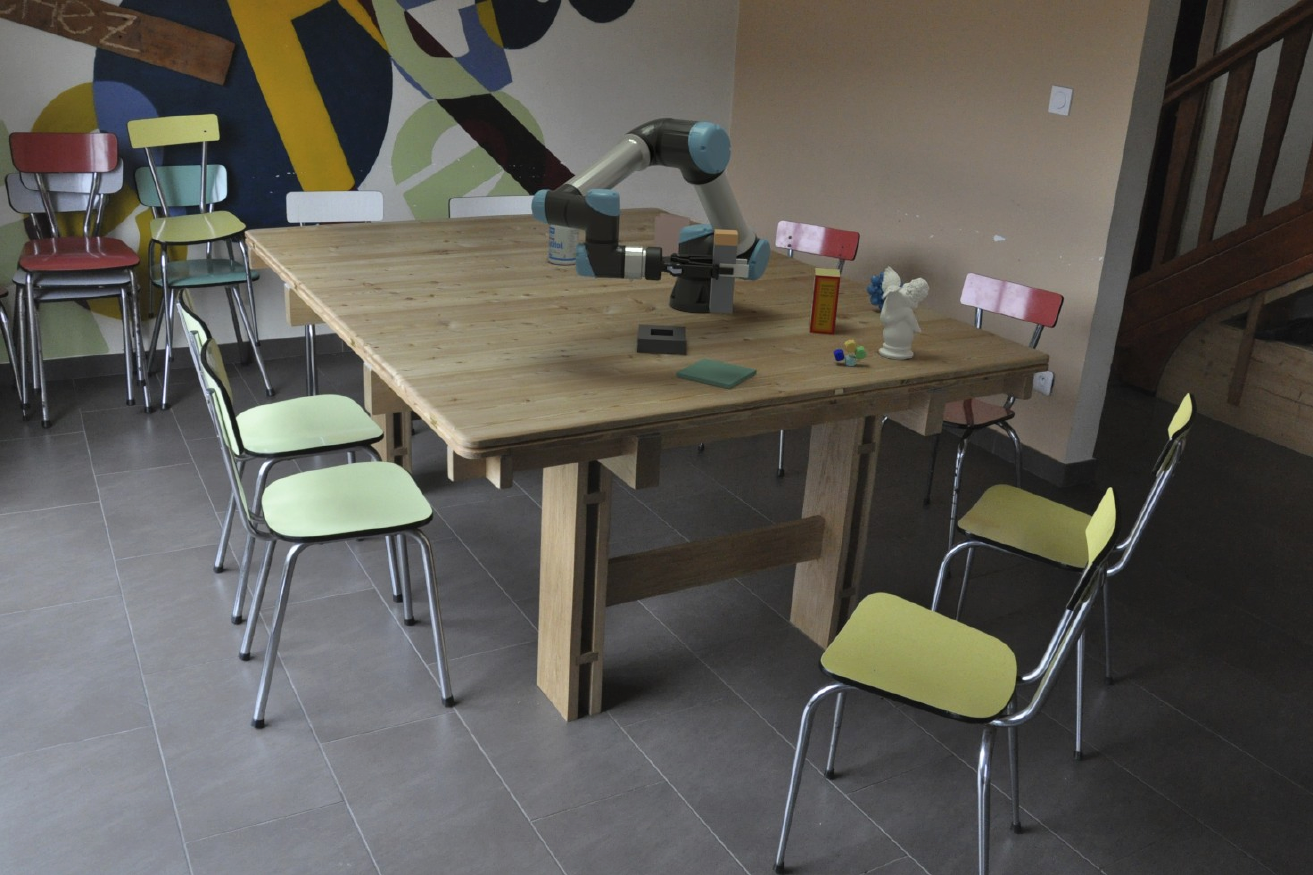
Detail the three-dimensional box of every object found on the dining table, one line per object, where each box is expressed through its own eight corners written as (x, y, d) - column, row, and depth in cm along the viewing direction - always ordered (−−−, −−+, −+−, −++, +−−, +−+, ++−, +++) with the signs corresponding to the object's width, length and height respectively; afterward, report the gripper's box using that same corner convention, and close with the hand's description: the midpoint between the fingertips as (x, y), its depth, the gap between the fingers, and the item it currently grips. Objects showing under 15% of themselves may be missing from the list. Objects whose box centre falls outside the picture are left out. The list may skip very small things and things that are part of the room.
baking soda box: (809, 323, 307) (815, 266, 301) (833, 325, 306) (839, 268, 300) (809, 332, 298) (815, 274, 292) (834, 334, 298) (840, 275, 292)
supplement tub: (543, 263, 359) (543, 217, 354) (557, 257, 368) (558, 213, 362) (569, 267, 356) (570, 221, 350) (583, 261, 364) (584, 216, 358)
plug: (709, 306, 257) (714, 229, 250) (730, 308, 257) (736, 230, 250) (710, 312, 252) (715, 233, 246) (732, 313, 252) (738, 234, 246)
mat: (704, 362, 269) (704, 358, 269) (756, 373, 263) (756, 369, 262) (675, 376, 258) (676, 372, 257) (729, 389, 251) (729, 384, 251)
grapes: (866, 315, 318) (871, 273, 314) (862, 308, 324) (867, 268, 320) (907, 317, 318) (912, 276, 314) (902, 310, 324) (908, 270, 320)
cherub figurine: (923, 357, 282) (937, 272, 274) (898, 367, 274) (911, 279, 265) (882, 345, 290) (894, 262, 281) (856, 354, 281) (868, 269, 273)
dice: (833, 365, 272) (835, 340, 269) (831, 362, 274) (834, 337, 272) (865, 367, 272) (868, 342, 269) (864, 364, 274) (867, 339, 272)
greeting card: (688, 262, 371) (691, 217, 365) (677, 266, 365) (680, 220, 359) (659, 257, 376) (661, 212, 371) (647, 260, 370) (649, 215, 365)
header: (638, 337, 286) (638, 324, 285) (684, 339, 286) (685, 326, 285) (636, 352, 274) (637, 338, 273) (685, 354, 274) (686, 341, 273)
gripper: (644, 270, 260) (743, 275, 261) (642, 289, 244) (748, 294, 244) (645, 238, 258) (746, 243, 258) (644, 255, 241) (751, 260, 241)
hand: (747, 268), depth 251 cm, fingers closed on plug, 5 cm apart
